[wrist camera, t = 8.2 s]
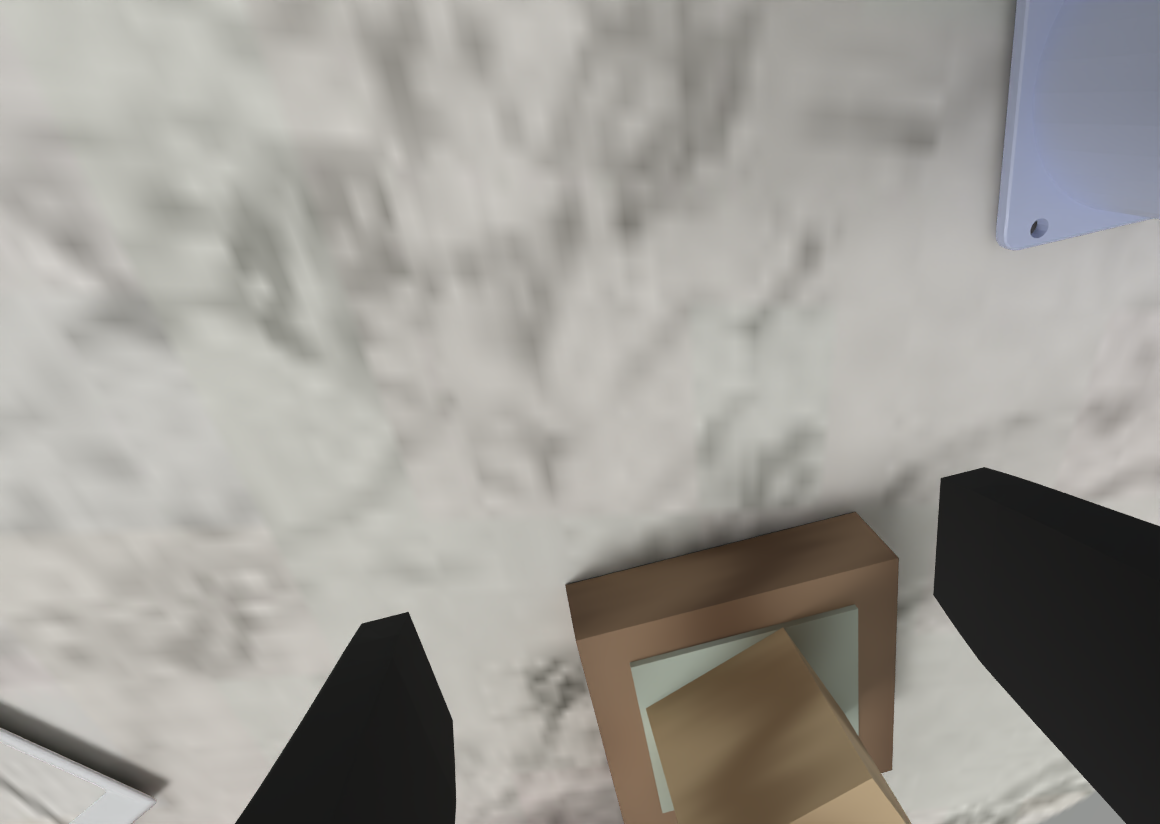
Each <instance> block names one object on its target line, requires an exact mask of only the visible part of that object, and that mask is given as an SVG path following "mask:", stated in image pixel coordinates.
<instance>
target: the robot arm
mask: <svg viewBox="0 0 1160 824" xmlns="http://www.w3.org/2000/svg"><path fill="white" fill-rule="evenodd" d="M1153 218H1154V219H1160V0H1017V6H1016V17H1015V28H1014V39H1013V50H1012V61H1011V72H1010V84H1009V95H1008V106H1007V117H1006V128H1005V139H1004V150H1003V161H1002V172H1001V184H1000V195H999V206H998V217H997V228H996V240H997V242H998V244H999V245H1000V246H1002V247H1004V248H1006V249H1010V250H1021V249H1025V248H1030V247H1034V246H1038V245H1042V244H1047V243H1051V242H1055V241H1060V240H1064V239H1068V238H1072V237H1077V236H1081V235H1085V234H1089V233H1094V232H1098V231H1102V230H1106V229H1111V228H1115V227H1119V226H1123V225H1128V224H1132V223H1136V222H1140V221H1145V220H1149V219H1153ZM1036 220H1037V227H1036V229H1035V230H1034V231H1033V233H1030V230H1031V227H1032V225H1033V223H1034V222H1035V221H1036ZM933 595H934V597H935V598H936V600H937V601H938V602H939V604H940V605H941V607H942V608H943V610H944V611H945V613H946V614H947V616H948V617H949V619H950V620H951V622H952V623H953V625H954V626H955V627H956V629H957V630H958V632H959V633H960V635H961V636H962V637H963V639H964V640H965V641H966V643H967V644H968V646H969V647H970V648H971V650H972V651H973V652H974V654H975V655H976V656H977V658H978V659H979V661H980V662H981V663H982V664H983V665H984V667H985V668H986V669H987V670H988V671H989V672H990V673H991V675H992V676H993V677H994V678H995V679H996V680H997V681H998V682H999V684H1000V685H1001V686H1002V687H1003V688H1004V689H1005V690H1006V691H1007V693H1008V694H1009V695H1010V696H1011V697H1012V698H1013V699H1014V700H1015V702H1016V703H1017V704H1018V705H1019V706H1020V707H1021V708H1022V709H1023V710H1024V712H1025V713H1026V714H1027V715H1028V716H1029V717H1030V718H1031V719H1032V720H1033V722H1034V723H1035V724H1036V725H1037V726H1038V727H1039V728H1040V729H1041V730H1042V731H1043V733H1044V734H1045V735H1046V736H1047V737H1048V738H1049V739H1050V740H1051V741H1052V742H1053V744H1054V745H1055V746H1056V747H1057V748H1058V749H1059V750H1060V751H1061V752H1062V753H1063V755H1064V756H1065V757H1066V758H1067V759H1068V760H1069V761H1070V762H1071V763H1072V764H1073V766H1074V767H1075V768H1076V769H1077V770H1078V771H1079V772H1080V773H1081V774H1082V775H1083V777H1084V778H1085V779H1086V780H1087V781H1088V782H1089V783H1090V784H1091V785H1092V786H1093V788H1094V789H1095V790H1096V791H1097V792H1098V793H1099V794H1100V795H1101V796H1102V798H1104V800H1105V801H1106V802H1107V803H1108V804H1109V805H1110V806H1111V807H1112V809H1114V811H1115V812H1116V813H1117V814H1118V815H1119V816H1120V817H1121V818H1122V820H1123V821H1124V822H1125V823H1126V824H1160V526H1157V525H1154V524H1152V523H1149V522H1146V521H1143V520H1140V519H1137V518H1134V517H1132V516H1129V515H1126V514H1123V513H1120V512H1117V511H1114V510H1112V509H1109V508H1106V507H1103V506H1100V505H1097V504H1095V503H1092V502H1089V501H1086V500H1083V499H1080V498H1077V497H1075V496H1072V495H1069V494H1066V493H1063V492H1060V491H1057V490H1054V489H1052V488H1049V487H1046V486H1043V485H1040V484H1037V483H1034V482H1031V481H1028V480H1025V479H1022V478H1019V477H1016V476H1012V475H1009V474H1006V473H1003V472H999V471H996V470H992V469H989V468H985V467H983V468H979V469H975V470H971V471H967V472H963V473H960V474H956V475H952V476H948V477H944V478H941V483H940V499H939V515H938V531H937V546H936V562H935V578H934V594H933ZM455 812H456V783H455V757H454V738H453V720H452V717H451V715H450V712H449V710H448V708H447V705H446V703H445V700H444V698H443V695H442V693H441V690H440V688H439V686H438V683H437V681H436V678H435V676H434V673H433V671H432V668H431V666H430V663H429V661H428V659H427V656H426V654H425V651H424V649H423V646H422V644H421V641H420V639H419V636H418V634H417V632H416V629H415V627H414V624H413V622H412V619H411V617H410V614H409V612H406V613H402V614H398V615H394V616H390V617H386V618H382V619H378V620H374V621H370V622H366V623H362V624H361V626H360V627H359V629H358V630H357V632H356V633H355V635H354V636H353V638H352V640H351V641H350V643H349V644H348V646H347V647H346V649H345V651H344V652H343V654H342V656H341V657H340V659H339V661H338V662H337V664H336V665H335V667H334V669H333V670H332V672H331V674H330V675H329V677H328V679H327V680H326V682H325V684H324V685H323V687H322V689H321V690H320V692H319V694H318V695H317V697H316V698H315V700H314V702H313V703H312V705H311V707H310V708H309V710H308V711H307V713H306V715H305V716H304V718H303V720H302V721H301V723H300V724H299V726H298V728H297V729H296V731H295V732H294V734H293V736H292V737H291V739H290V740H289V742H288V743H287V745H286V746H285V748H284V750H283V751H282V753H281V754H280V756H279V757H278V759H277V761H276V762H275V764H274V765H273V767H272V768H271V770H270V772H269V773H268V775H267V776H266V778H265V779H264V781H263V783H262V784H261V786H260V787H259V789H258V790H257V792H256V793H255V795H254V796H253V798H252V799H251V801H250V802H249V804H248V805H247V807H246V808H245V810H244V811H243V813H242V814H241V816H240V817H239V818H238V820H237V821H236V823H235V824H455Z"/></svg>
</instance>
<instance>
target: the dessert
mask: <svg viewBox="0 0 1160 824" xmlns="http://www.w3.org/2000/svg"><path fill="white" fill-rule="evenodd" d="M0 743H3V744H5V745H7V746H9V747H12V748H14V749H16V750H18V751H21V752H23V753H25V754H27V755H30V756H32V757H34V758H36V759H38V760H41V761H43V762H45V763H47V764H50V765H52V766H54V767H56V768H59V769H61V770H63V771H65V772H68V773H70V774H72V775H74V776H76V777H79V778H81V779H83V780H85V781H88V782H90V783H92V784H94V785H97V786H99V787H101V788H103V789H104V790H105V794H104V795H103V796H101V797H100V798H99V799H98V800H97V801H95V802H94V803H93V804H92V805H91V806H89V807H88V808H87V809H86V810H85V811H83V812H82V813H81V814H80V815H79V816H78V817H76V818H75V819H74V820H73V821H72V822H70V823H69V824H132V823H133V822H134V821H136V820H137V819H138V818H139V817H140V816H142V815H143V814H144V813H145V812H147V811H148V810H149V809H150V808H151V807H153V806H154V805H155V804H156V802H157V800H155V799H154V798H153V797H152V796H150V795H147V794H145V793H143V792H141V791H139V790H136V789H134V788H132V787H130V786H128V785H125V784H123V783H121V782H119V781H117V780H114V779H112V778H110V777H108V776H106V775H104V774H101V773H99V772H97V771H95V770H93V769H90V768H88V767H86V766H84V765H82V764H79V763H77V762H75V761H73V760H71V759H68V758H66V757H64V756H62V755H60V754H58V753H55V752H53V751H51V750H49V749H47V748H44V747H42V746H40V745H38V744H36V743H33V742H31V741H29V740H27V739H25V738H22V737H20V736H18V735H16V734H14V733H12V732H9V731H7V730H5V729H3V728H1V727H0Z"/></svg>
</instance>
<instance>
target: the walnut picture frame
mask: <svg viewBox="0 0 1160 824" xmlns="http://www.w3.org/2000/svg"><path fill="white" fill-rule="evenodd" d="M898 566H899V558H898V557H897V556H896V555H895V553H894V552H893V551H892V550H891V549H890V548H889V547H888V546H887V545H886V544H885V543H884V542H883V541H882V540H881V539H880V538H879V536H878V535H877V534H876V533H875V532H874V531H873V530H872V529H871V528H870V527H869V526H868V525H867V524H866V523H865V522H864V520H863V519H862V518H861V517H860V516H859V515H858V514H857V513H856V512H853V513H849V514H845V515H841V516H837V517H834V518H830V519H826V520H822V521H818V522H814V523H810V524H806V525H802V526H798V527H794V528H790V529H786V530H782V531H778V532H774V533H770V534H766V535H762V536H758V537H754V538H750V539H746V540H742V541H738V542H734V543H730V544H726V545H722V546H719V547H715V548H711V549H707V550H703V551H699V552H695V553H691V554H687V555H683V556H679V557H675V558H671V559H667V560H663V561H659V562H655V563H651V564H647V565H643V566H639V567H635V568H631V569H627V570H623V571H619V572H615V573H611V574H607V575H603V576H600V577H596V578H592V579H588V580H584V581H580V582H576V583H572V584H568V585H565V586H566V591H567V596H568V602H569V607H570V612H571V618H572V623H573V628H574V633H575V639H576V643H577V647H578V651H579V654H580V658H581V662H582V666H583V670H584V673H585V677H586V681H587V685H588V688H589V692H590V696H591V700H592V704H593V707H594V711H595V715H596V719H597V723H598V726H599V730H600V734H601V738H602V741H603V745H604V749H605V753H606V757H607V760H608V764H609V768H610V772H611V776H612V779H613V783H614V787H615V791H616V794H617V798H618V802H619V806H620V810H621V813H622V817H623V821H624V824H678V821H677V817H676V814H675V810H674V807H673V803H672V800H671V796H670V793H669V789H668V786H667V782H666V779H665V775H664V772H663V768H662V764H661V761H660V757H659V754H658V750H657V747H656V743H655V740H654V736H653V733H652V729H651V726H650V722H649V719H648V715H647V712H646V708H648V707H649V706H651V705H653V704H654V703H656V702H658V701H659V700H661V699H663V698H664V697H666V696H668V695H670V694H671V693H673V692H675V691H676V690H678V689H680V688H681V687H683V686H685V685H686V684H688V683H690V682H692V681H693V680H695V679H697V678H698V677H700V676H702V675H703V674H705V673H707V672H708V671H710V670H712V669H714V668H715V667H717V666H719V665H720V664H722V663H724V662H725V661H727V660H729V659H730V658H732V657H734V656H735V655H737V654H739V653H741V652H742V651H744V650H746V649H747V648H749V647H751V646H752V645H754V644H756V643H757V642H759V641H761V640H763V639H764V638H766V637H768V636H769V635H771V634H773V633H774V632H776V631H778V630H779V629H781V628H784V629H785V631H786V632H787V634H788V635H789V636H790V638H791V639H792V641H793V642H794V643H795V645H796V646H797V648H798V649H799V650H800V652H801V653H802V655H803V656H804V657H805V659H806V660H807V662H808V663H809V664H810V666H811V667H812V669H813V670H814V671H815V673H816V674H817V676H818V677H819V678H820V680H821V681H822V683H823V684H824V685H825V687H826V688H827V690H828V691H829V692H830V694H831V695H832V697H833V698H834V700H835V701H836V702H837V704H838V705H839V707H840V708H841V709H842V711H843V712H844V714H845V715H846V717H847V718H848V720H849V722H850V723H851V725H852V727H853V728H854V730H855V732H856V733H857V735H858V736H859V738H860V740H861V741H862V743H863V745H864V746H865V748H866V750H867V751H868V753H869V755H870V756H871V758H872V759H873V761H874V763H875V764H876V766H877V768H878V769H879V771H880V773H883V772H887V771H891V770H892V756H893V724H894V692H895V661H896V629H897V597H898Z"/></svg>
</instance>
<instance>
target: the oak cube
mask: <svg viewBox="0 0 1160 824" xmlns="http://www.w3.org/2000/svg"><path fill="white" fill-rule="evenodd" d="M646 712H647V715H648V719H649V722H650V726H651V729H652V733H653V736H654V740H655V743H656V747H657V750H658V754H659V757H660V761H661V764H662V768H663V772H664V775H665V779H666V782H667V786H668V789H669V793H670V796H671V800H672V803H673V807H674V810H675V814H676V817H677V821H678V824H911V822H910V820H909V819H908V817H907V815H906V814H905V812H904V810H903V809H902V807H901V805H900V804H899V802H898V801H897V799H896V797H895V796H894V794H893V792H892V791H891V789H890V787H889V786H888V784H887V782H886V781H885V779H884V778H883V776H882V774H881V773H880V771H879V769H878V768H877V766H876V764H875V763H874V761H873V759H872V758H871V756H870V755H869V753H868V751H867V750H866V748H865V746H864V745H863V743H862V741H861V740H860V738H859V736H858V735H857V733H856V732H855V730H854V728H853V727H852V725H851V723H850V722H849V720H848V718H847V717H846V715H845V714H844V712H843V711H842V709H841V708H840V707H839V705H838V704H837V702H836V701H835V700H834V698H833V697H832V695H831V694H830V692H829V691H828V690H827V688H826V687H825V685H824V684H823V683H822V681H821V680H820V678H819V677H818V676H817V674H816V673H815V671H814V670H813V669H812V667H811V666H810V664H809V663H808V662H807V660H806V659H805V657H804V656H803V655H802V653H801V652H800V650H799V649H798V648H797V646H796V645H795V643H794V642H793V641H792V639H791V638H790V636H789V635H788V634H787V632H786V631H785V629H784V628H781V629H779V630H778V631H776V632H774V633H773V634H771V635H769V636H768V637H766V638H764V639H763V640H761V641H759V642H757V643H756V644H754V645H752V646H751V647H749V648H747V649H746V650H744V651H742V652H741V653H739V654H737V655H735V656H734V657H732V658H730V659H729V660H727V661H725V662H724V663H722V664H720V665H719V666H717V667H715V668H714V669H712V670H710V671H708V672H707V673H705V674H703V675H702V676H700V677H698V678H697V679H695V680H693V681H692V682H690V683H688V684H686V685H685V686H683V687H681V688H680V689H678V690H676V691H675V692H673V693H671V694H670V695H668V696H666V697H664V698H663V699H661V700H659V701H658V702H656V703H654V704H653V705H651V706H649V707H648V708H646Z"/></svg>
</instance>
